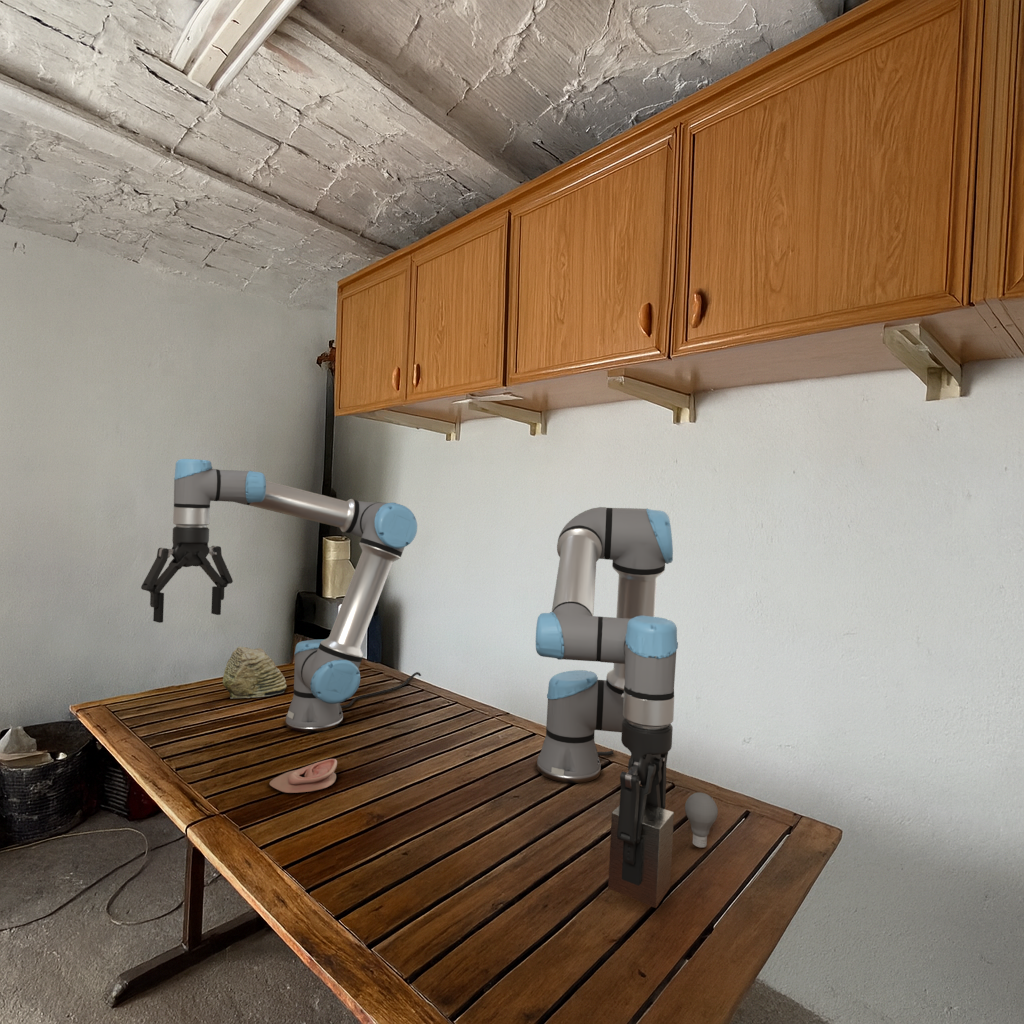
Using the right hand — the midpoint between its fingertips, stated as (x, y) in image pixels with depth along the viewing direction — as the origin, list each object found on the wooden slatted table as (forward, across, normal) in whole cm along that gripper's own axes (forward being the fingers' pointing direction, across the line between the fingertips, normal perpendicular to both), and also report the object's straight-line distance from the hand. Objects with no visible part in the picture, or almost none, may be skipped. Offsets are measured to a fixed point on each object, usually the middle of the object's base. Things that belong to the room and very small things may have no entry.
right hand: (640, 869), depth 97 cm
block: (+3, 0, 0) cm, 3 cm away
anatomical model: (+9, 0, -78) cm, 79 cm away
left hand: (-25, +10, -108) cm, 111 cm away
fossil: (+10, -30, -139) cm, 143 cm away
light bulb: (+9, -29, +1) cm, 30 cm away
